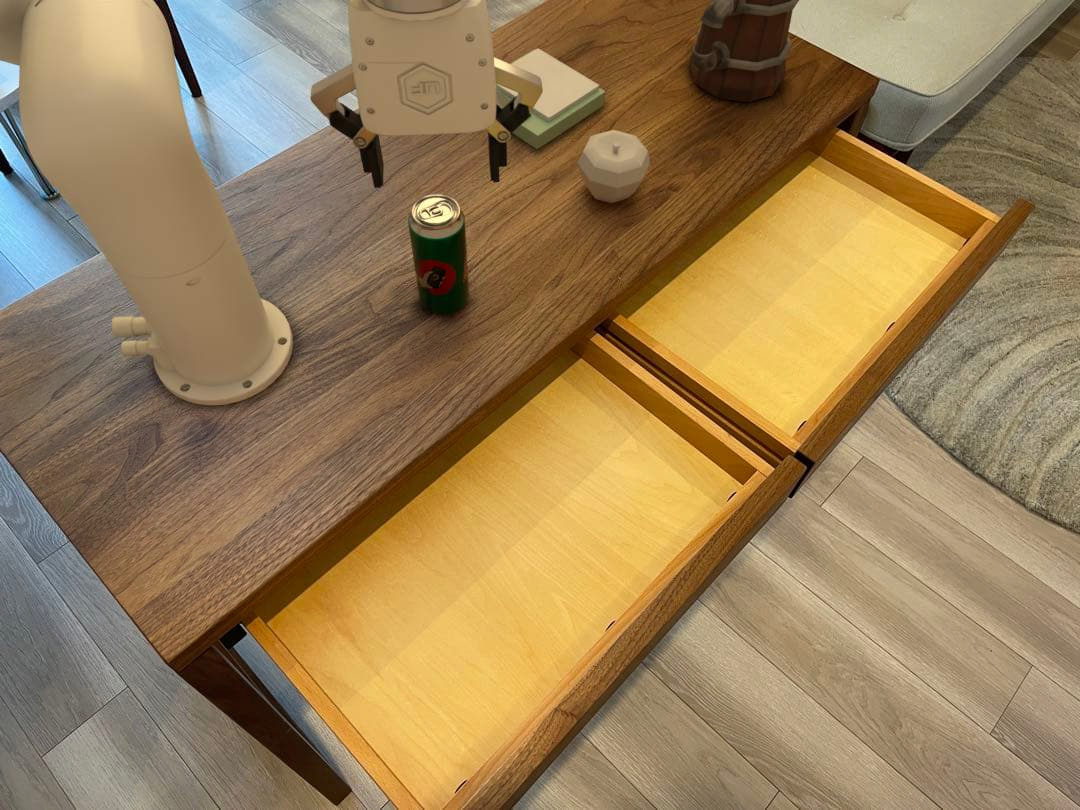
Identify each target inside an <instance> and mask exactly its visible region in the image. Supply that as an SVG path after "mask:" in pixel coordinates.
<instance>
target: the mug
mask: <svg viewBox="0 0 1080 810" xmlns="http://www.w3.org/2000/svg"><path fill="white" fill-rule="evenodd" d="M799 1H800V0H711V1H710V2H709V4H708V5H707V7H706V9H705V10H704V11H703V12H704V13H702V16H701V17H700V22H701V26H700V27H699V28H698V30H697V32H696V38H697V40H696V43H694V45H693V46H692V47H691V55H690V60H689V64H688V68H689V71H690V74H691V77H692V78H693V82H694V84H695V86H697V87H699V88H701V89H702V90H703V91H706V92H708V93H709V94H711V95H712V96H714V97H715V98H717V99H722V100H727V101H734V102H735V101H736V102H743V103H750V102H754V101H757V100H761V99H764V98H767V97H771V96H773V95H774V93H775V92H776V91H777V89H778V87H779V85H780V84H781V82H782V80H783V77H784V75H785V71H786V69H787V68H786V67H787V66H786V64H787V63H786V57H787V56H788V54H789V52H790V51H791V49H792V47H793V42H792V40H791V39H790V36H789V32H790V31H789V30H790V27H791V21H792V15H793V11H794V9H795V7H796V6H797V5H798V3H799Z"/></svg>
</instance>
